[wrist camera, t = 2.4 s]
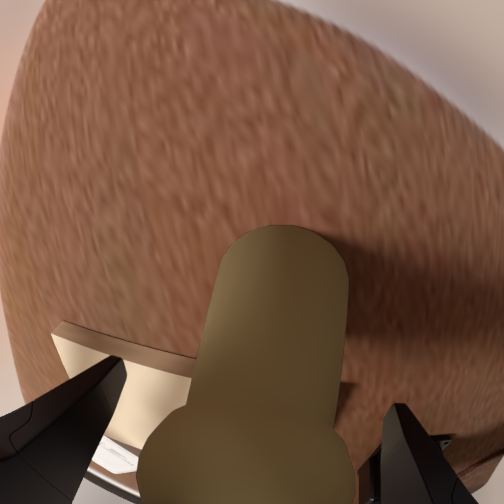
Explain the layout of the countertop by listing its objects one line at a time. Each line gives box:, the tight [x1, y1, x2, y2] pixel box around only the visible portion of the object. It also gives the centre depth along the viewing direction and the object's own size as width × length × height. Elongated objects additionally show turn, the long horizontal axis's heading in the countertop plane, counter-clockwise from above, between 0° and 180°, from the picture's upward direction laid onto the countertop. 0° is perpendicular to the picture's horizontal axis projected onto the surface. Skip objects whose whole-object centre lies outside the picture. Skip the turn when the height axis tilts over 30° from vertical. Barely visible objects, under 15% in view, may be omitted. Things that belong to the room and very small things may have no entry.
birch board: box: [51, 321, 196, 450], centre depth 20 cm, size 18×13×2 cm
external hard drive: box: [92, 435, 141, 474], centre depth 28 cm, size 2×8×12 cm
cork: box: [136, 225, 355, 504], centre depth 9 cm, size 6×6×11 cm
